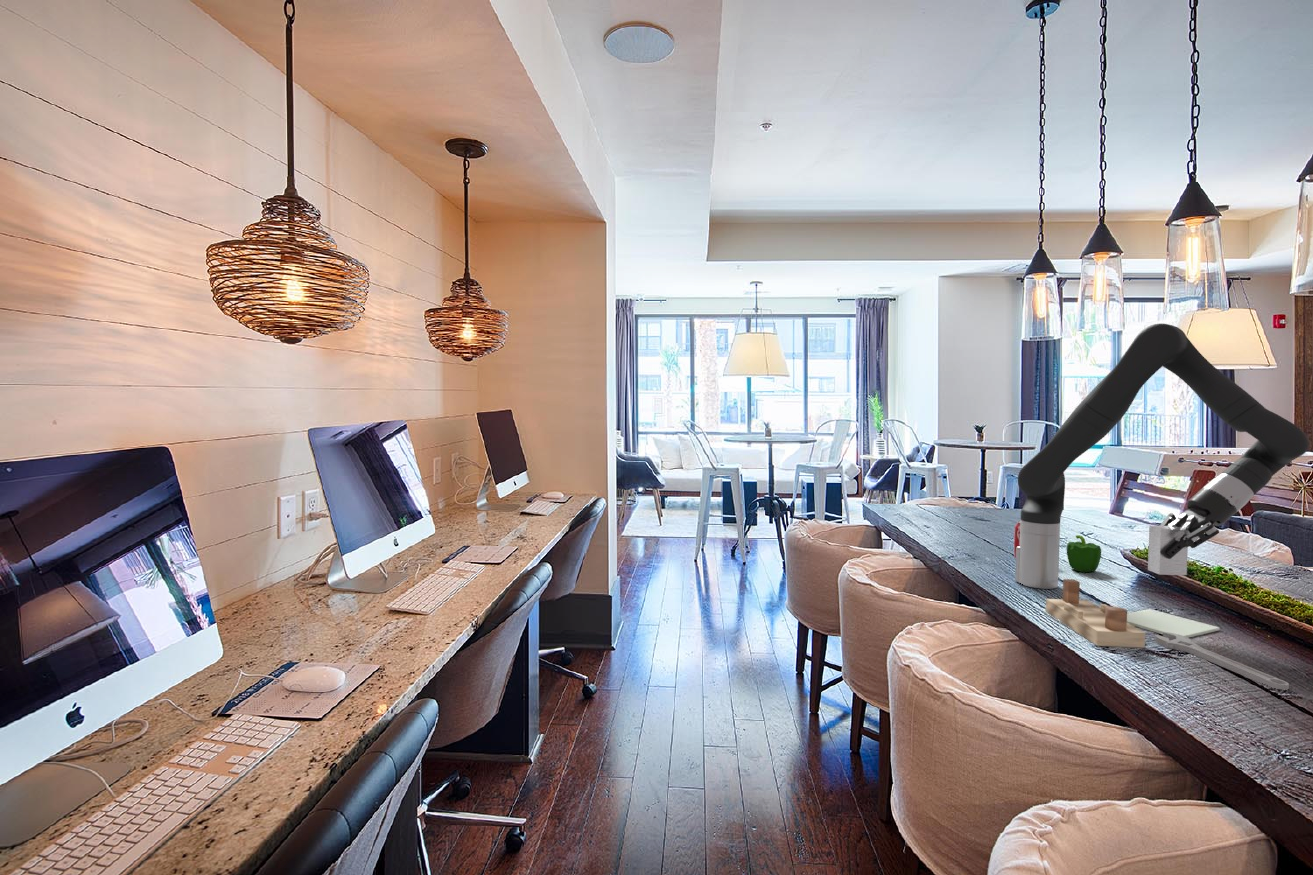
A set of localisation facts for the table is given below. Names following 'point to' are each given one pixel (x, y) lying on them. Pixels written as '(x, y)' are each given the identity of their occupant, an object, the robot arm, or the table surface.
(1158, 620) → the mat
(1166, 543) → the grey block
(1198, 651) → the adjustable wrench
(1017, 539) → the soda can
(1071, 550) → the bell pepper
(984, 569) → the table surface
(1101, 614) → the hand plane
